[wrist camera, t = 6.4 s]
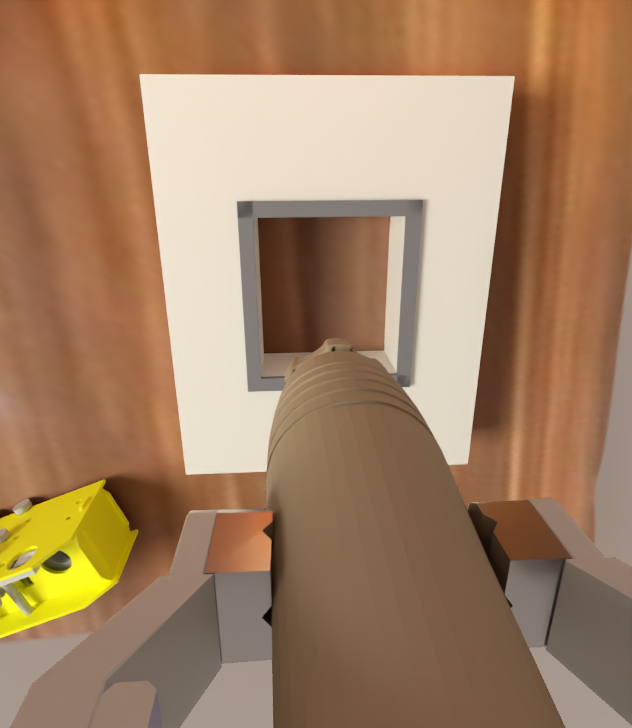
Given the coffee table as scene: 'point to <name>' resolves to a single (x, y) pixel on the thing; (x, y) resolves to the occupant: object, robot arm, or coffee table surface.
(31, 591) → the yellow toy chassis
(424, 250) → the socket board
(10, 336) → the coffee table surface
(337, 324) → the coffee table surface
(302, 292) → the coffee table surface
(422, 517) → the handle
